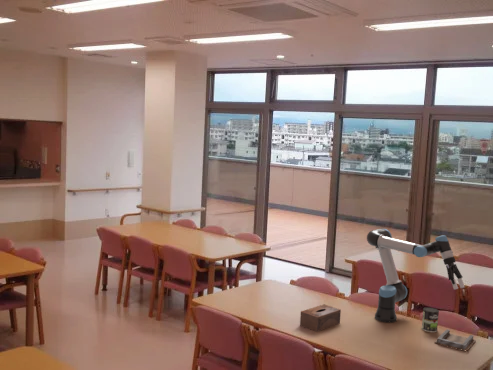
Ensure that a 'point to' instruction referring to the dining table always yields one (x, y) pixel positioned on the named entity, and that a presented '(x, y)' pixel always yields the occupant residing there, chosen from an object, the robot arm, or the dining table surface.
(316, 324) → the tissue box cover
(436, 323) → the coffee can
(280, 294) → the dining table surface
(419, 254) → the robot arm
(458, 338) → the rail dock
